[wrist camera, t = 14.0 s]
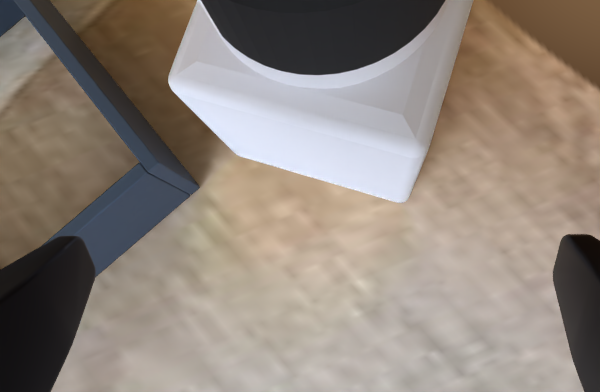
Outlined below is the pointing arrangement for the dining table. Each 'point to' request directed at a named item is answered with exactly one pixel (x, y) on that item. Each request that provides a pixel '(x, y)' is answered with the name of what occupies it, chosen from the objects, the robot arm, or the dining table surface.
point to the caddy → (133, 131)
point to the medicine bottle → (323, 83)
